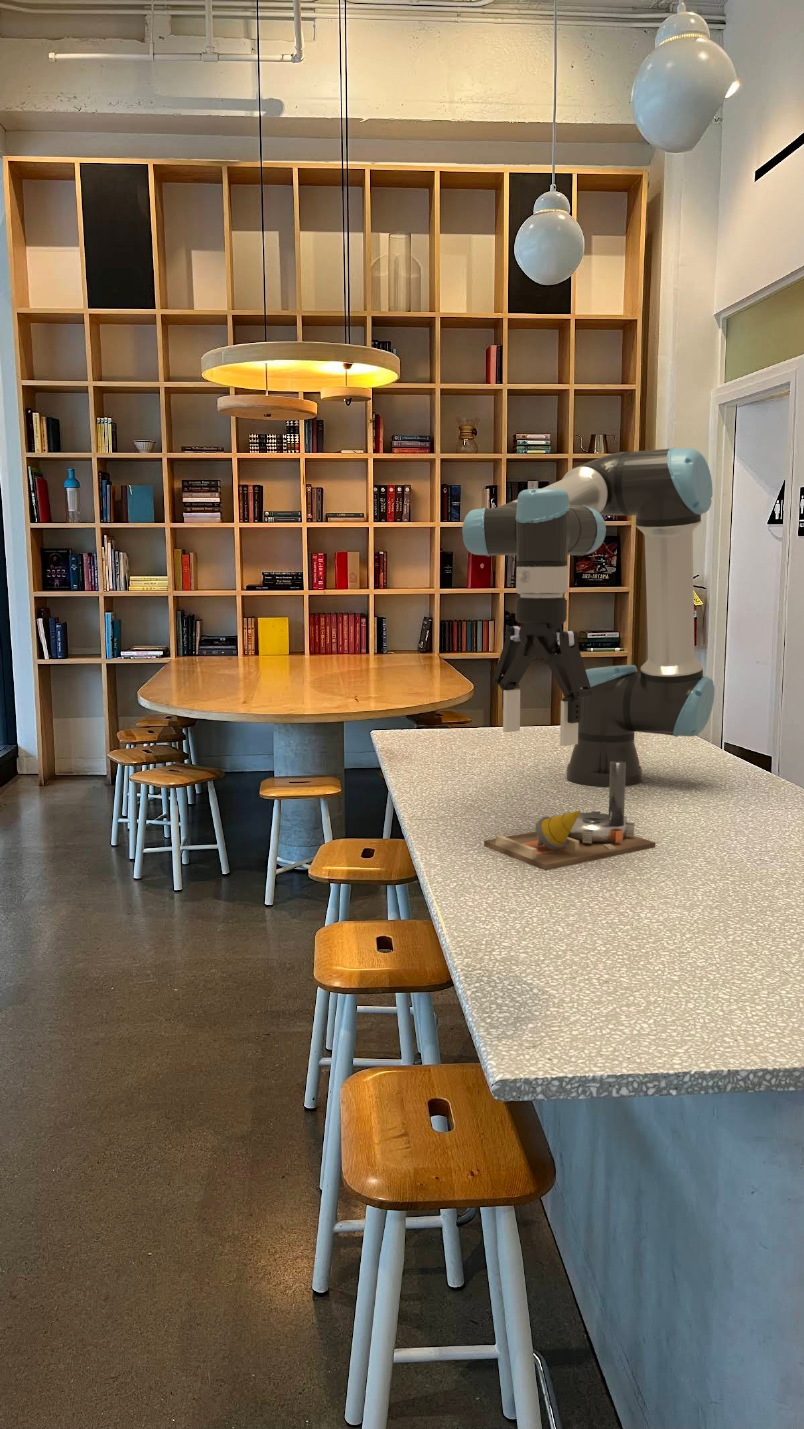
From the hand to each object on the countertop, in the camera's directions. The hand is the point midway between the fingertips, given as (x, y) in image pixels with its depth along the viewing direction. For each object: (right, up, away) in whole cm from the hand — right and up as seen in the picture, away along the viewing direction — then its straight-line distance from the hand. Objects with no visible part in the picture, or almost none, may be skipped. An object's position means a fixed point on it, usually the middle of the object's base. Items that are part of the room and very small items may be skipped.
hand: (539, 738), depth 154 cm
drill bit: (0, -17, +3) cm, 17 cm away
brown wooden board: (+5, -17, +6) cm, 19 cm away
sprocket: (+10, -15, +9) cm, 20 cm away
